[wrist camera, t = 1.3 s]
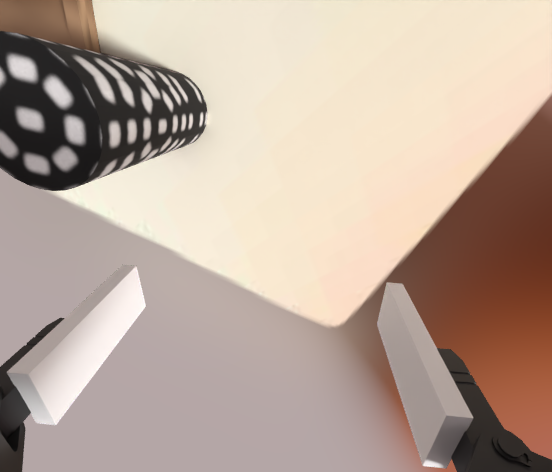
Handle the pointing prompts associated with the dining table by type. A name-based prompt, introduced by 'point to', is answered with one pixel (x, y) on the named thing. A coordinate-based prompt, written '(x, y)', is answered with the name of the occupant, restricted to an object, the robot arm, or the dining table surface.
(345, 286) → the dining table surface
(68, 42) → the wooden tray
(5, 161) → the white-spotted black cylinder
